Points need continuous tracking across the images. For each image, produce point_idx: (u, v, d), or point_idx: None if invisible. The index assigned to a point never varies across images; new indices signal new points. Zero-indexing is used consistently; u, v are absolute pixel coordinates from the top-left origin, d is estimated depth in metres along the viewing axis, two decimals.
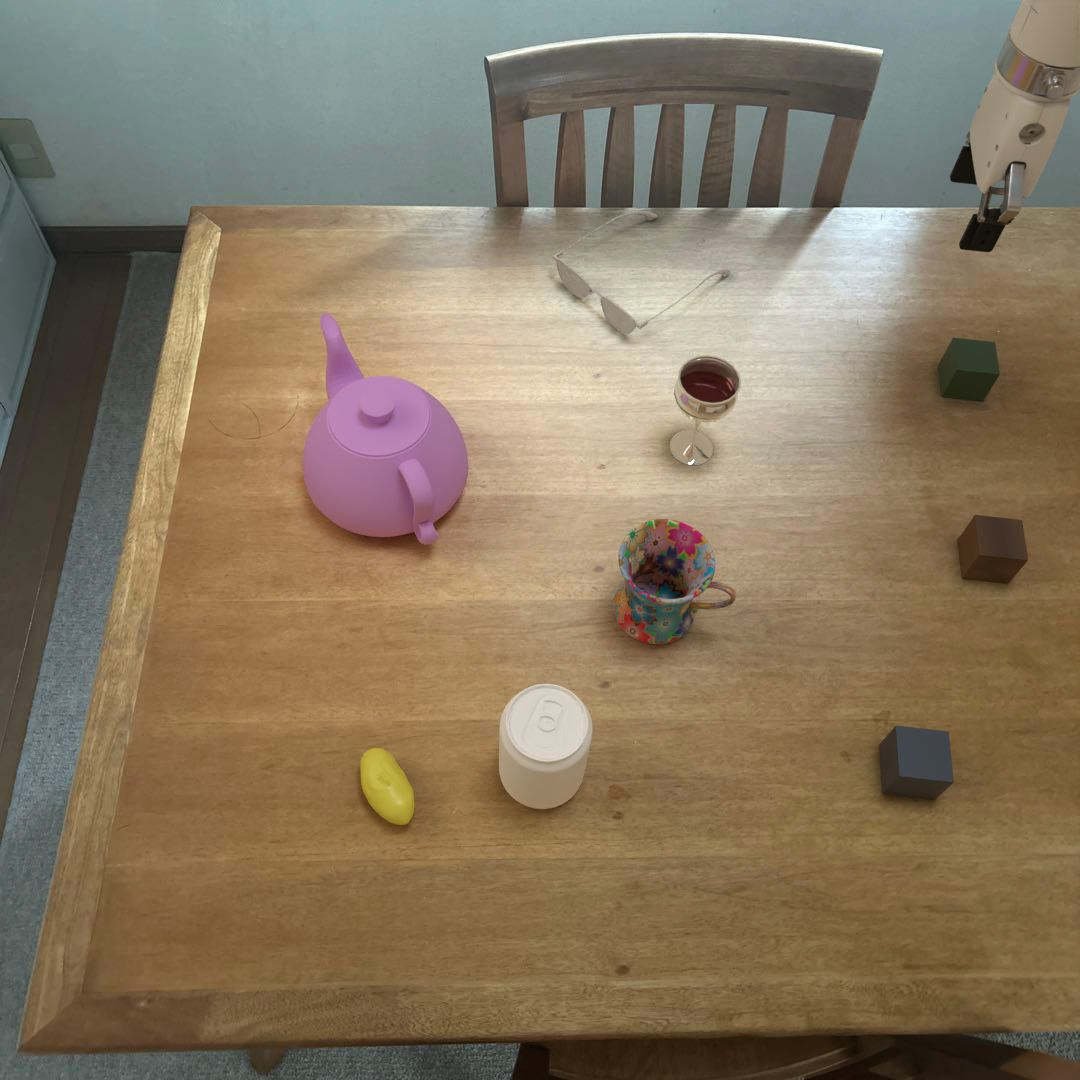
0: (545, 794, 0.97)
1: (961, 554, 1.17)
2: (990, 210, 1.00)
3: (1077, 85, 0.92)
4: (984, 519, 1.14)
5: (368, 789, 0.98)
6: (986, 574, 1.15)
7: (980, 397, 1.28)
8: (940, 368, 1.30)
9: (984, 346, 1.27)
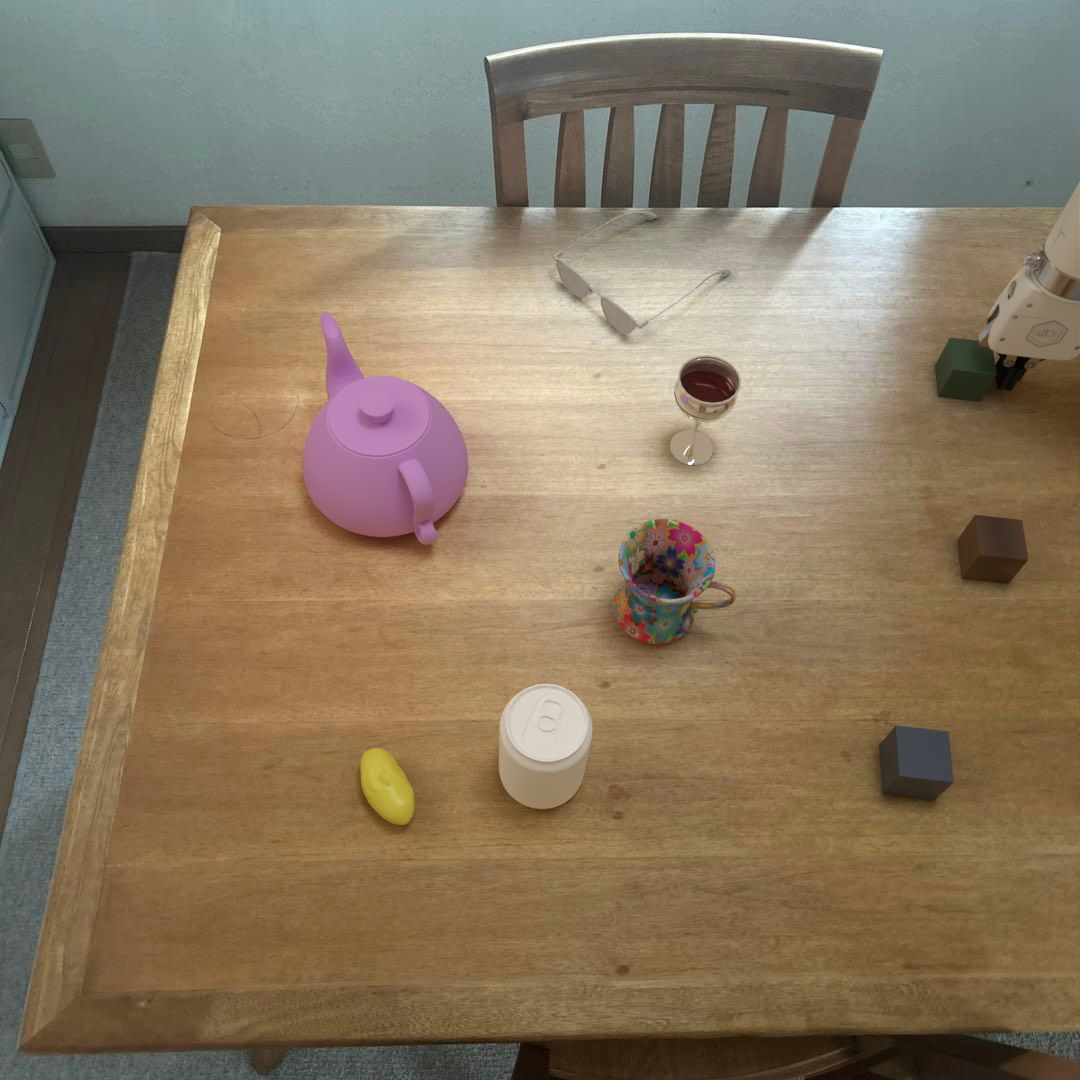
0: (545, 794, 0.97)
1: (961, 554, 1.17)
2: None
3: (1048, 284, 1.12)
4: (984, 519, 1.14)
5: (368, 789, 0.98)
6: (986, 574, 1.15)
7: (977, 397, 1.28)
8: (937, 368, 1.30)
9: None
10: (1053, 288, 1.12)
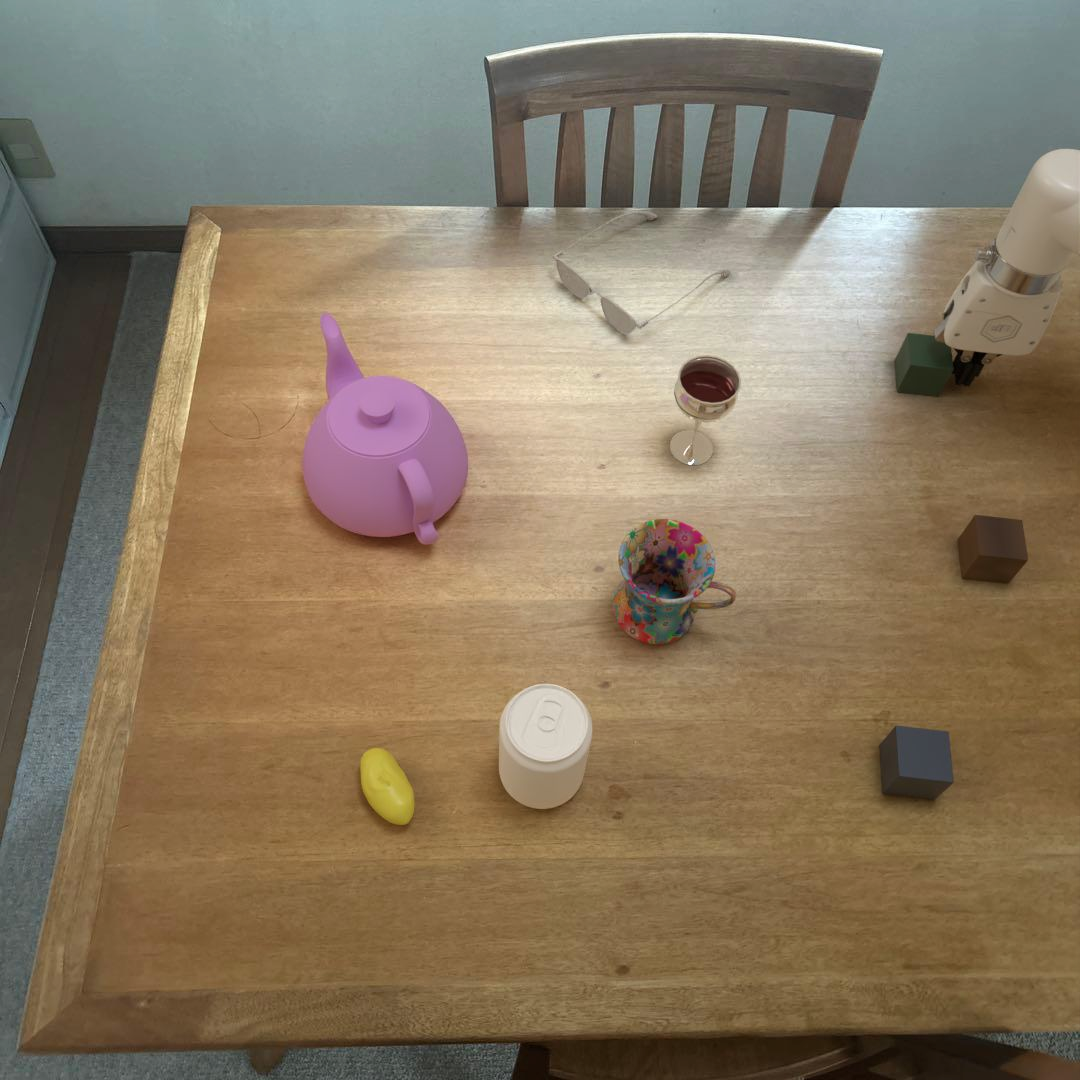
0: (545, 794, 0.97)
1: (961, 554, 1.17)
2: None
3: (1000, 279, 1.13)
4: (984, 519, 1.14)
5: (368, 789, 0.98)
6: (986, 574, 1.15)
7: (935, 392, 1.28)
8: (896, 363, 1.30)
9: None
10: (1005, 283, 1.12)
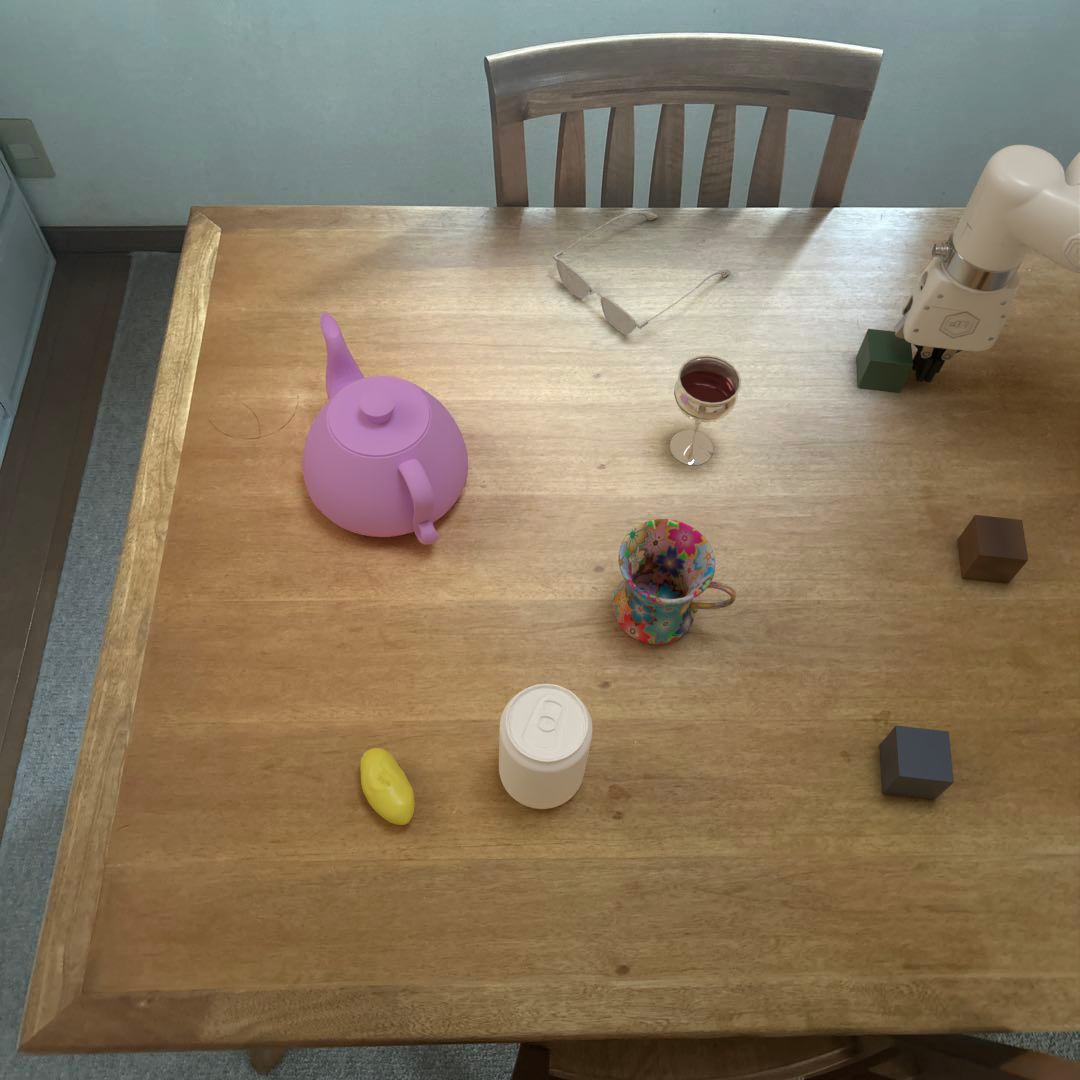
0: (545, 794, 0.97)
1: (961, 554, 1.17)
2: None
3: (957, 275, 1.13)
4: (984, 519, 1.14)
5: (368, 789, 0.98)
6: (986, 574, 1.15)
7: (896, 388, 1.28)
8: (857, 359, 1.31)
9: None
10: (961, 279, 1.12)
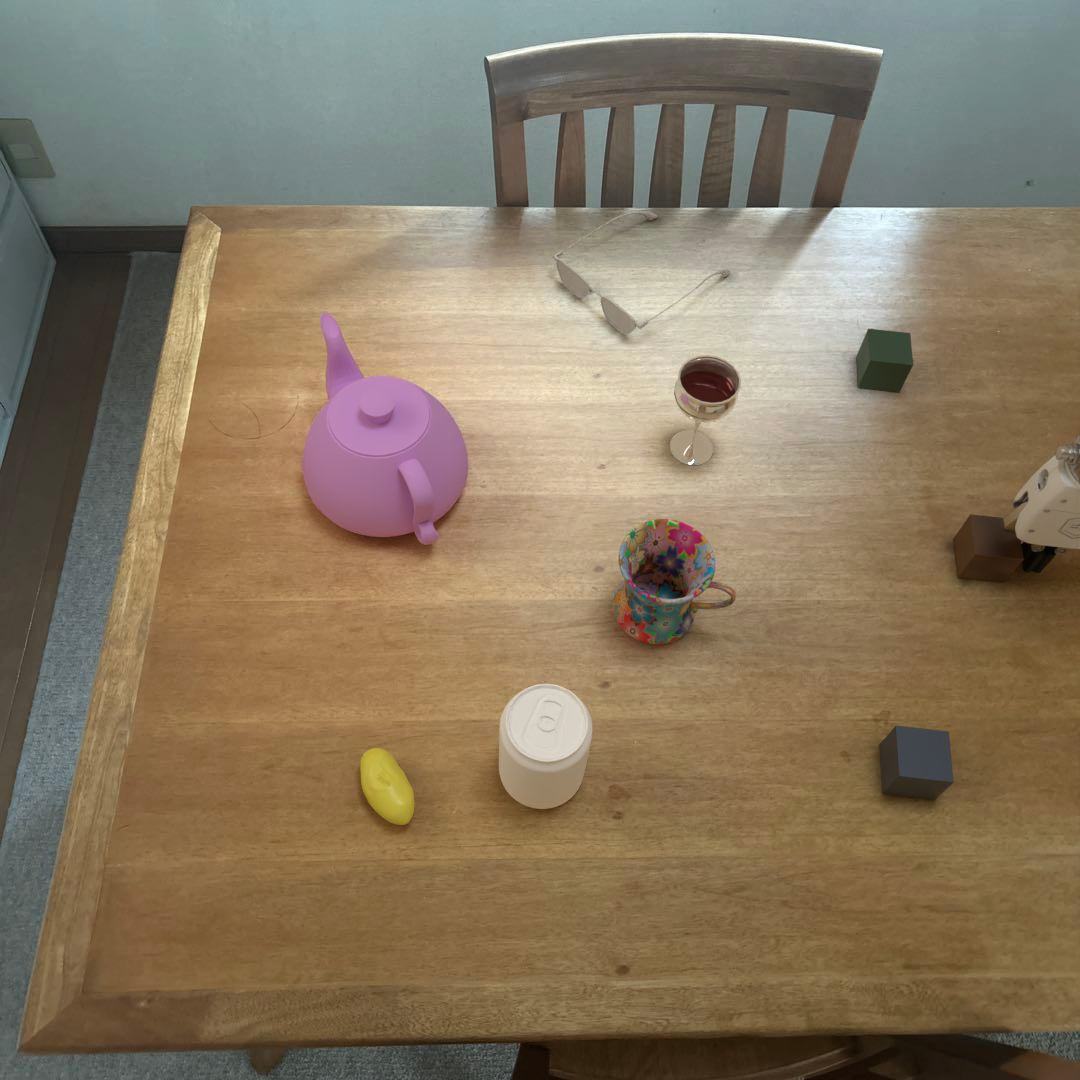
0: (545, 794, 0.97)
1: (956, 553, 1.17)
2: None
3: None
4: (979, 519, 1.14)
5: (368, 789, 0.98)
6: (982, 573, 1.15)
7: (896, 388, 1.28)
8: (857, 359, 1.31)
9: (899, 337, 1.27)
10: None
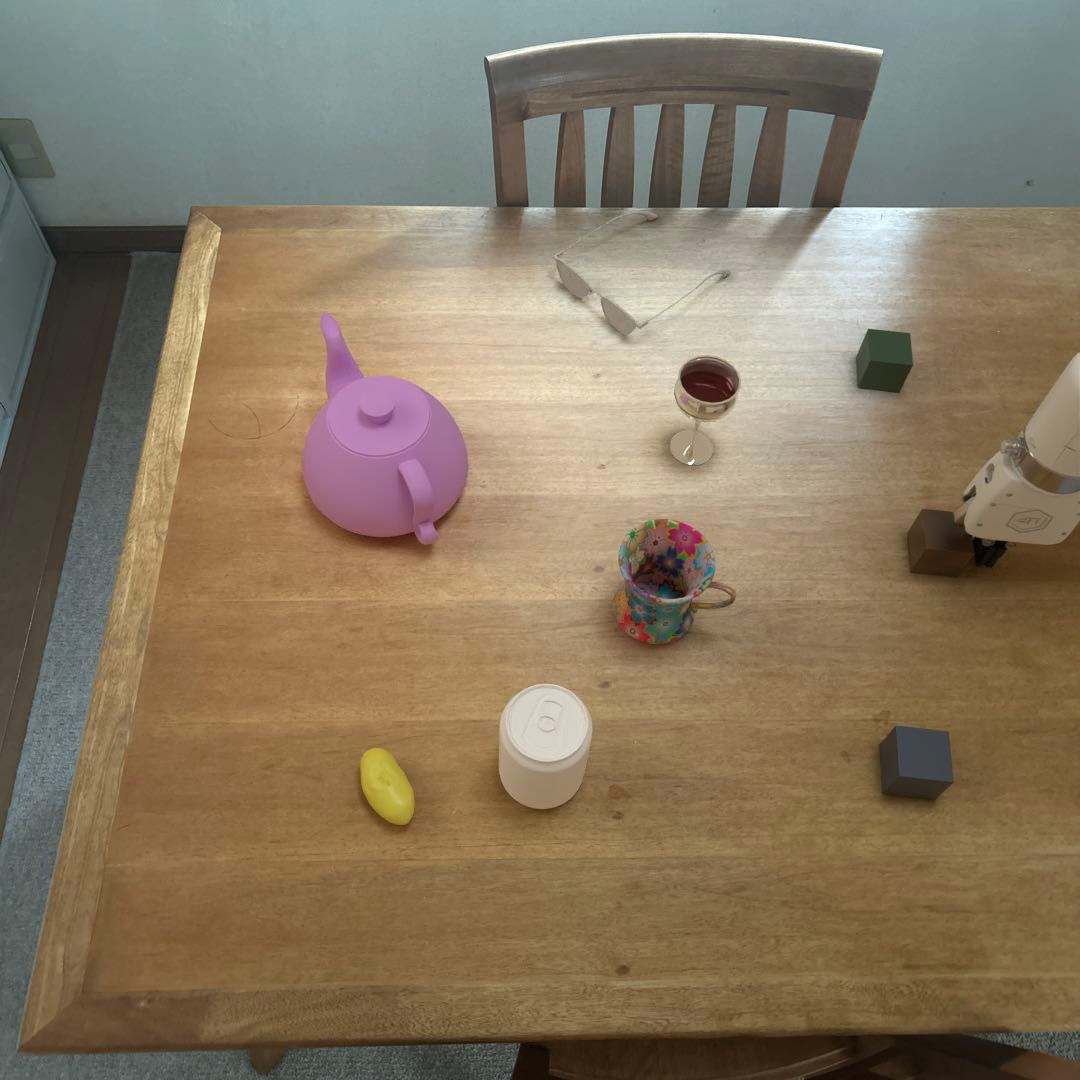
0: (545, 794, 0.97)
1: (909, 548, 1.17)
2: None
3: (1030, 476, 0.99)
4: (931, 513, 1.14)
5: (368, 789, 0.98)
6: (934, 568, 1.15)
7: (896, 388, 1.28)
8: (857, 359, 1.31)
9: (899, 337, 1.27)
10: (1035, 481, 0.99)
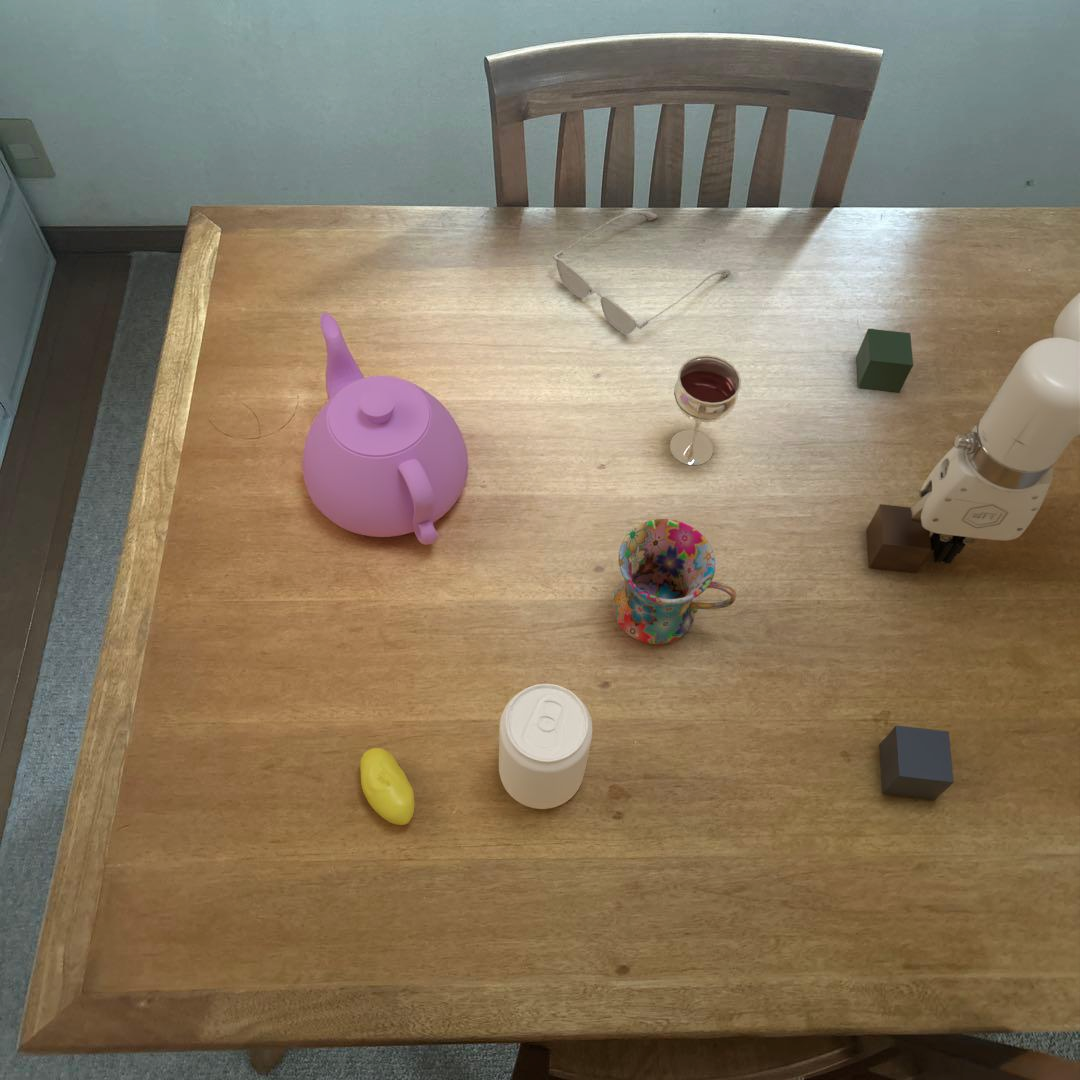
0: (545, 794, 0.97)
1: (868, 543, 1.17)
2: None
3: (983, 470, 1.00)
4: (889, 508, 1.14)
5: (368, 789, 0.98)
6: (892, 563, 1.15)
7: (896, 388, 1.28)
8: (857, 359, 1.31)
9: (899, 337, 1.27)
10: (988, 475, 0.99)
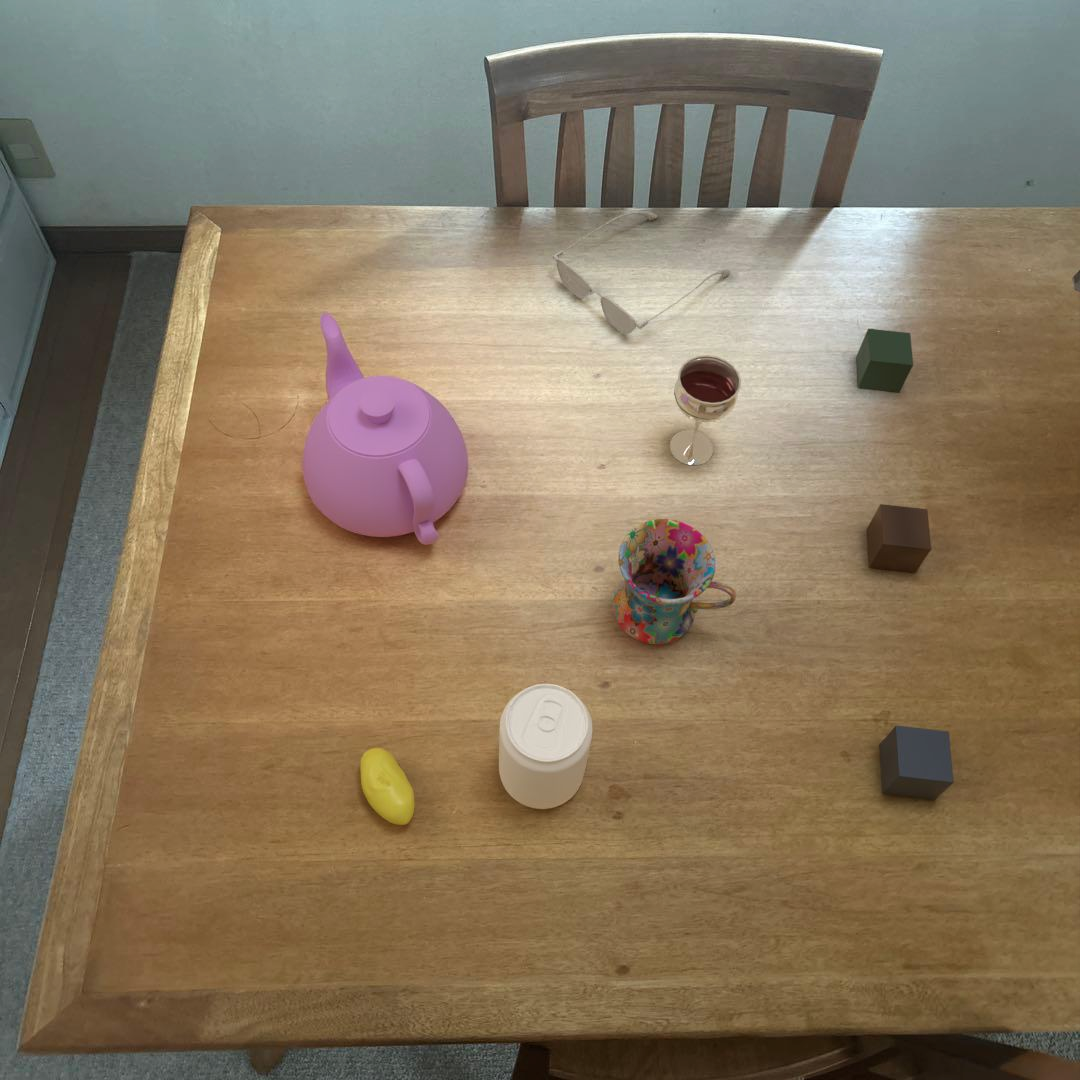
0: (545, 794, 0.97)
1: (868, 543, 1.17)
2: None
3: None
4: (889, 508, 1.14)
5: (368, 789, 0.98)
6: (892, 563, 1.15)
7: (896, 388, 1.28)
8: (857, 359, 1.31)
9: (899, 337, 1.27)
10: None
